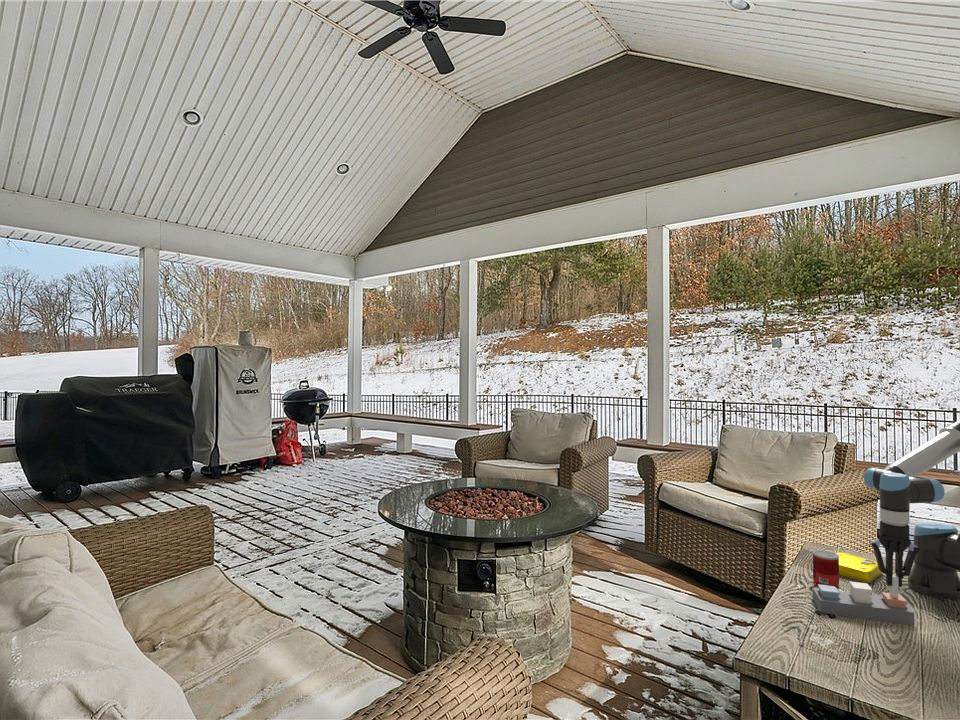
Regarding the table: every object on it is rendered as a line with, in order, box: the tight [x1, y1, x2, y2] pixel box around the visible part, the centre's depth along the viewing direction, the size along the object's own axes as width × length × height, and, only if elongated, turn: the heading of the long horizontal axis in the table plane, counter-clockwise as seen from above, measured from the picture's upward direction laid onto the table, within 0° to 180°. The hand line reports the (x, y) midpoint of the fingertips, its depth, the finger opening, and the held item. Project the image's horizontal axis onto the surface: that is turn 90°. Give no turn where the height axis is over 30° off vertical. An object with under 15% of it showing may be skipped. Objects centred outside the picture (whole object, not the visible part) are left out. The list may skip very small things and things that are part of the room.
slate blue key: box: [817, 584, 840, 600], centre depth 175 cm, size 5×5×5 cm
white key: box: [848, 580, 874, 604], centre depth 172 cm, size 5×5×5 cm
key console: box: [812, 587, 915, 626], centre depth 172 cm, size 25×10×4 cm, turn 70°
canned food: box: [812, 550, 840, 589], centre depth 193 cm, size 8×8×11 cm
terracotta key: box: [881, 591, 908, 609], centre depth 169 cm, size 5×5×5 cm
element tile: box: [835, 551, 883, 583], centre depth 204 cm, size 15×15×5 cm
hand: (893, 595), depth 169 cm, fingers closed
